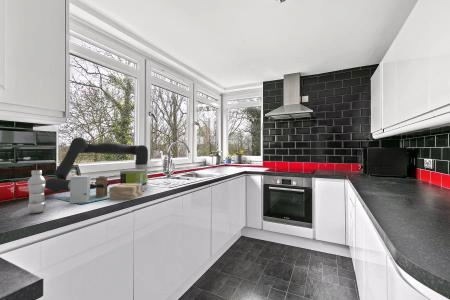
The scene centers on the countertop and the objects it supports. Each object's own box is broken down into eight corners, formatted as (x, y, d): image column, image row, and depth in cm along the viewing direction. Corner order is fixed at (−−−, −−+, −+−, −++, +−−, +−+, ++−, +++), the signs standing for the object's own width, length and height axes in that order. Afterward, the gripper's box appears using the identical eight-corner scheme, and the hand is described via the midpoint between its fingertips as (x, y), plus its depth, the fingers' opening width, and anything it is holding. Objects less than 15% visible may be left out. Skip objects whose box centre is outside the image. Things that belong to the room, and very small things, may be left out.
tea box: (146, 189, 153) (146, 169, 153) (140, 191, 143) (139, 170, 143) (127, 188, 154) (127, 169, 154) (119, 191, 144) (119, 170, 144)
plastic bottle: (44, 209, 100) (44, 169, 100) (47, 212, 96) (47, 170, 96) (26, 213, 95) (26, 170, 95) (28, 216, 91) (28, 171, 91)
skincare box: (69, 203, 112) (69, 176, 112) (74, 201, 117) (73, 175, 117) (87, 202, 114) (87, 176, 114) (90, 200, 120) (90, 174, 120)
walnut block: (100, 195, 131) (100, 175, 131) (107, 195, 131) (107, 175, 131) (95, 197, 126) (95, 176, 126) (103, 197, 126) (102, 176, 126)
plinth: (121, 194, 135) (121, 183, 135) (142, 194, 135) (142, 183, 135) (109, 199, 121) (109, 187, 121) (132, 199, 121) (132, 187, 121)
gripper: (70, 181, 122) (98, 181, 121) (87, 177, 136) (112, 177, 136) (70, 193, 122) (98, 193, 121) (87, 189, 136) (112, 189, 136)
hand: (105, 185), depth 129 cm, fingers closed on walnut block, 4 cm apart
